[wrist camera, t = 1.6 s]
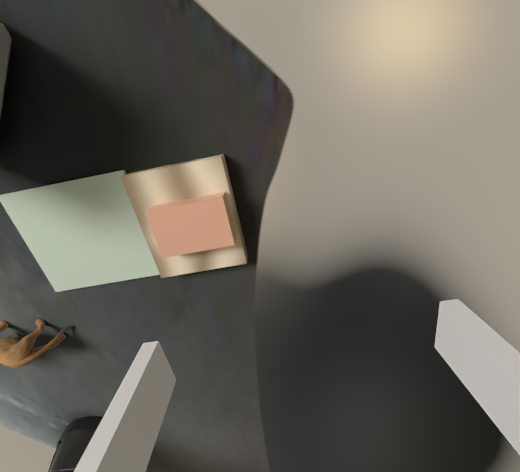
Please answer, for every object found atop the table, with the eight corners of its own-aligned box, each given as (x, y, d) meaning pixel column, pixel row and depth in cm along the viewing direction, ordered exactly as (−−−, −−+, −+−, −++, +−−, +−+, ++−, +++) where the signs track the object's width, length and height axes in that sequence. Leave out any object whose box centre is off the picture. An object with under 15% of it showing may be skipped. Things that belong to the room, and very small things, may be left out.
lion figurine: (-2, 346, 43) (-65, 399, 35) (-21, 322, 41) (-92, 372, 33) (79, 335, 42) (35, 386, 34) (64, 310, 40) (13, 358, 32)
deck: (167, 268, 37) (161, 277, 35) (130, 172, 31) (120, 176, 29) (247, 254, 36) (246, 263, 34) (224, 153, 31) (221, 156, 28)
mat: (58, 290, 38) (56, 292, 38) (0, 194, 32) (-4, 195, 32) (165, 272, 37) (164, 273, 37) (125, 169, 31) (123, 170, 31)
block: (169, 249, 33) (162, 257, 31) (152, 205, 30) (144, 211, 28) (236, 237, 32) (234, 245, 30) (225, 191, 30) (222, 196, 28)
